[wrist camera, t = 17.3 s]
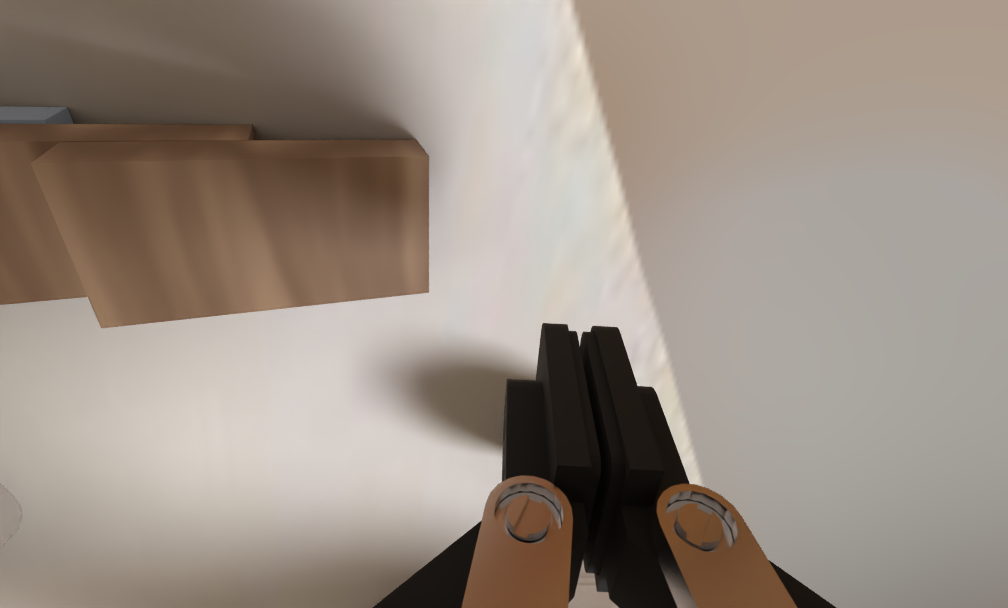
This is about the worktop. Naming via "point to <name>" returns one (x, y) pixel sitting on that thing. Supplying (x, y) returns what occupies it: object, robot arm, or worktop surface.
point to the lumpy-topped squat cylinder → (8, 514)
